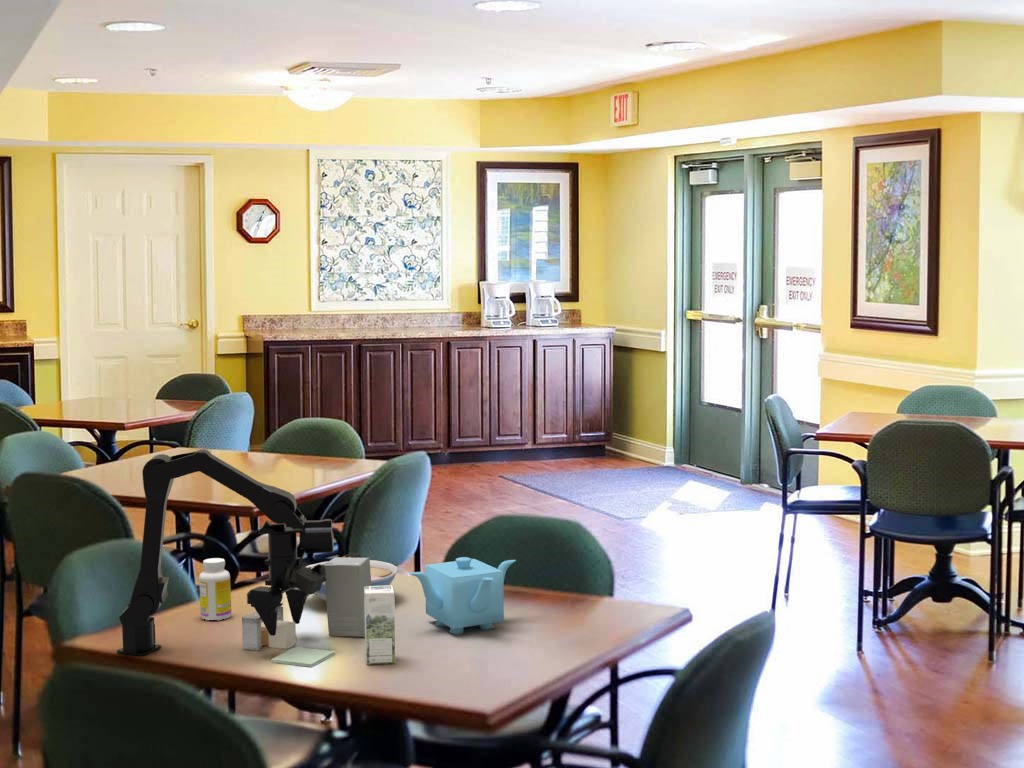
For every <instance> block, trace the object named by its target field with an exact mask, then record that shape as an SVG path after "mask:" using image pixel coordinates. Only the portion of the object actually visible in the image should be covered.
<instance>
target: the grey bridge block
mask: <svg viewBox="0 0 1024 768" xmlns="http://www.w3.org/2000/svg"><path fill="white" fill-rule="evenodd" d="M277 621H284V606H281V607H280V608H279V609H278V611H277ZM262 623H263V621H262V619H261V617H260V616H259V614H258V613H257V611H256V610H254V611H252V612H250V613H249V614H246V615H244V616H242V617H241V633H242V636H241V637H242V649H243V650H250V651H251V650H252V651H259V650H262V649H261V648H262V646H263V645H262V643H261V627H262Z"/></svg>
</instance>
